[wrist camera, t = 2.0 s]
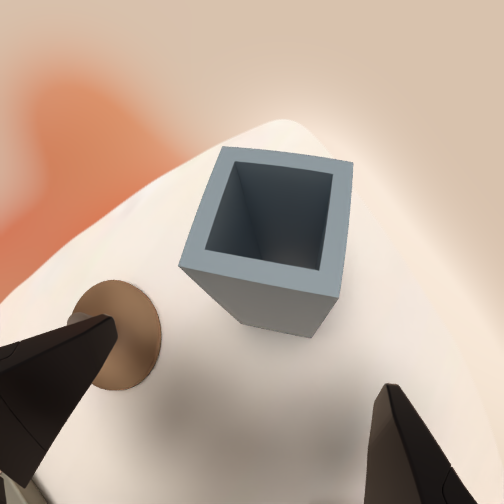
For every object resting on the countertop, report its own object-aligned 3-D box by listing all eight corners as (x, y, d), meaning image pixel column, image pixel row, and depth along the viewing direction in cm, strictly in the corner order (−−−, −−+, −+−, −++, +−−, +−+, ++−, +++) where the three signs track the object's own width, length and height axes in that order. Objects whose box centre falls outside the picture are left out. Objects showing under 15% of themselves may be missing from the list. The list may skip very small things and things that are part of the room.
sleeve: (311, 338, 19) (339, 297, 8) (240, 323, 20) (178, 265, 9) (323, 270, 21) (353, 162, 10) (257, 258, 22) (222, 146, 11)
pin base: (151, 403, 18) (112, 410, 13) (67, 371, 20) (24, 366, 15) (171, 290, 22) (138, 267, 17) (86, 276, 23) (49, 255, 18)
